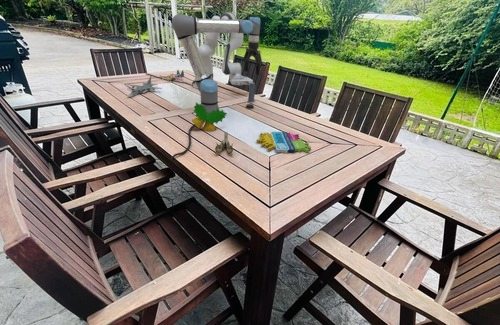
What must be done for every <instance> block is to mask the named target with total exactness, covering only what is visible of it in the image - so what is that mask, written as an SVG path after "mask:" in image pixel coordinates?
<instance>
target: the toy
mask: <svg viewBox="0 0 500 325" xmlns="http://www.w3.org/2000/svg"><path fill="white" fill-rule="evenodd" d="M184 76H185V72H184V70H183V69H182V70H181V72H180V70H179V69H177V70H176V73H170V74H167V75H166V76H165V75H164V76H163V75H159V77H160V78H159V79H161V78H164V79H165V81H168V82H171V81H170V80H176V81H178V80H179V81H181V82H184V78H182V77H184ZM179 77H180V78H179Z"/></svg>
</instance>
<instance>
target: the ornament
mask: <svg viewBox="0 0 500 325" xmlns="http://www.w3.org/2000/svg"><path fill="white" fill-rule="evenodd" d="M219 110H220V108H219V109H217V110H216V111H214V110H212V112H211V113H208V112H206V109H204V106H201V103H198V102H195V105H194V106H193V112H194V113H195V118H192V119H191V122H192V123H193V125H194V124H195V127H197V128H198V129H202V130H203V131H206V132H212V131H213V132H214V131H215V130H216V126H215V124H218V123H219V122H223V119H226V115H227V114H228V113H227V112H224V110H223V109H221V110H220V111H219ZM207 113H208V115H207ZM214 123H215V124H214Z"/></svg>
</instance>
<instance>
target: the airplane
mask: <svg viewBox="0 0 500 325" xmlns="http://www.w3.org/2000/svg"><path fill="white" fill-rule="evenodd" d="M158 85H159V84H158V83H152V76H151V75H149V78H148V80H147V82H142V85H138V84H137V85H136V84H129V83H128V84H127V86H129V87H131V88H130V90H131V92H130V93H129V94H128V95H127V98H133V97H135V96H137V95H139V94H145V93H147V92H150V91H151V93H152V92H154V91H155V90H156V89H159V90H160V89H162V87H155V86H158Z"/></svg>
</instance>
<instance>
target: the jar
mask: <svg viewBox="0 0 500 325" xmlns="http://www.w3.org/2000/svg"><path fill="white" fill-rule="evenodd" d="M255 94H256V83H255V82H253V83H252V82H251V83H250V85H248V95H247V97H248V98H247V102H249V103H254V102H255V98H256V97H255V96H256V95H255Z"/></svg>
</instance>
